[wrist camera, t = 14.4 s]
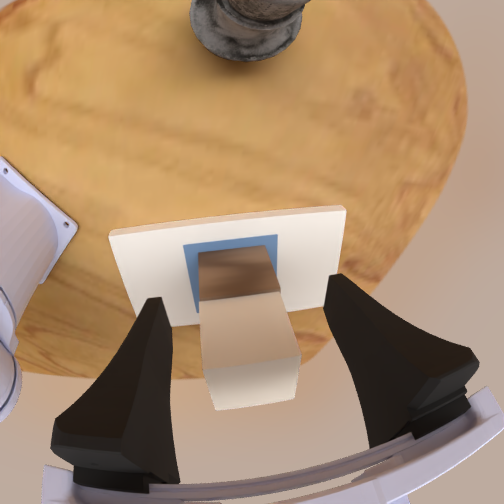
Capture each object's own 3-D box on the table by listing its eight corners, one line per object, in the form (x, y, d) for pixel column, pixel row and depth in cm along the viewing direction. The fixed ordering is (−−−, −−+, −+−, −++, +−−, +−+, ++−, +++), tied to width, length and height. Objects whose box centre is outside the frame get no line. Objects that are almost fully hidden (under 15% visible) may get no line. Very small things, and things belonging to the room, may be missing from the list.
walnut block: (206, 301, 24) (209, 348, 20) (198, 252, 22) (199, 298, 17) (264, 294, 25) (278, 339, 21) (264, 244, 22) (280, 288, 18)
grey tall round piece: (283, 66, 16) (393, 62, 6) (191, 66, 15) (174, 43, 5) (285, -11, 13) (385, -83, 3) (192, -13, 12) (187, -115, 2)
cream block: (209, 350, 20) (215, 410, 16) (198, 301, 18) (202, 369, 13) (277, 341, 21) (294, 398, 17) (279, 291, 18) (301, 355, 14)
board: (143, 321, 26) (141, 330, 25) (111, 229, 20) (107, 237, 19) (327, 297, 28) (331, 305, 27) (341, 204, 22) (347, 210, 22)
